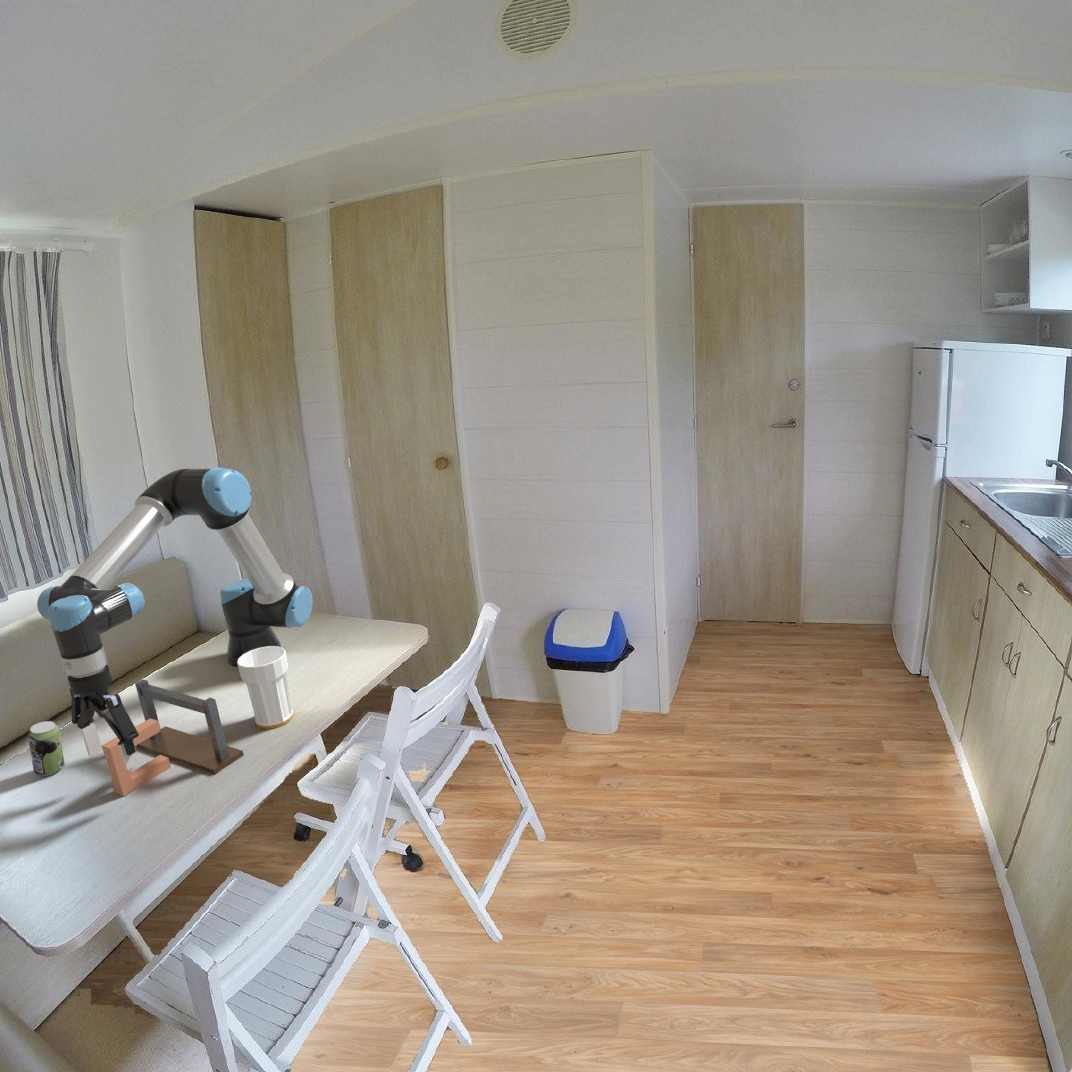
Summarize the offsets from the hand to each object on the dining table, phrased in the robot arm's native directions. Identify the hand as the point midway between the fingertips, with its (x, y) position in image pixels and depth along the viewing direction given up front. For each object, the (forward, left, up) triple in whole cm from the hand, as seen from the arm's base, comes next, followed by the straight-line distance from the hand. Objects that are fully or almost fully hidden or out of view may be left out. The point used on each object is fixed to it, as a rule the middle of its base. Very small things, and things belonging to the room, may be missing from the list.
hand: (113, 759), depth 164 cm
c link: (-2, +4, -8) cm, 10 cm away
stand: (-8, +14, -8) cm, 19 cm away
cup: (-10, +35, -9) cm, 37 cm away
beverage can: (-20, -14, -9) cm, 26 cm away
